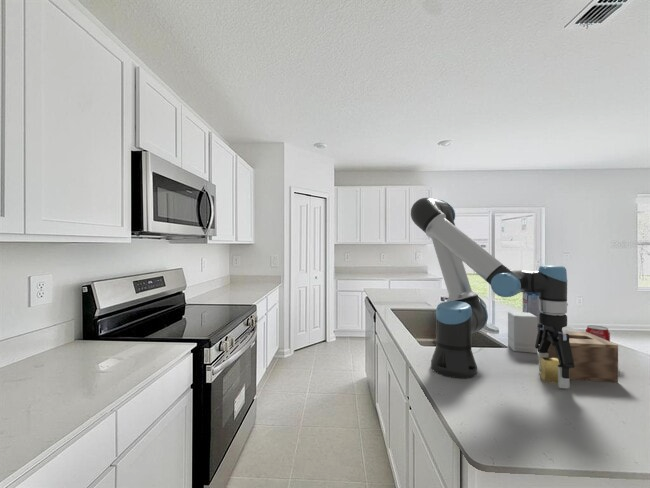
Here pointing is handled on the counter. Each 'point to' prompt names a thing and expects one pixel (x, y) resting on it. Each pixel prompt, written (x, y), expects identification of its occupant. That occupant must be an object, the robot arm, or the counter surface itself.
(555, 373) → the block
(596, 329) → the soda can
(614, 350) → the coin box
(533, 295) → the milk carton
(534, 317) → the supplement box
